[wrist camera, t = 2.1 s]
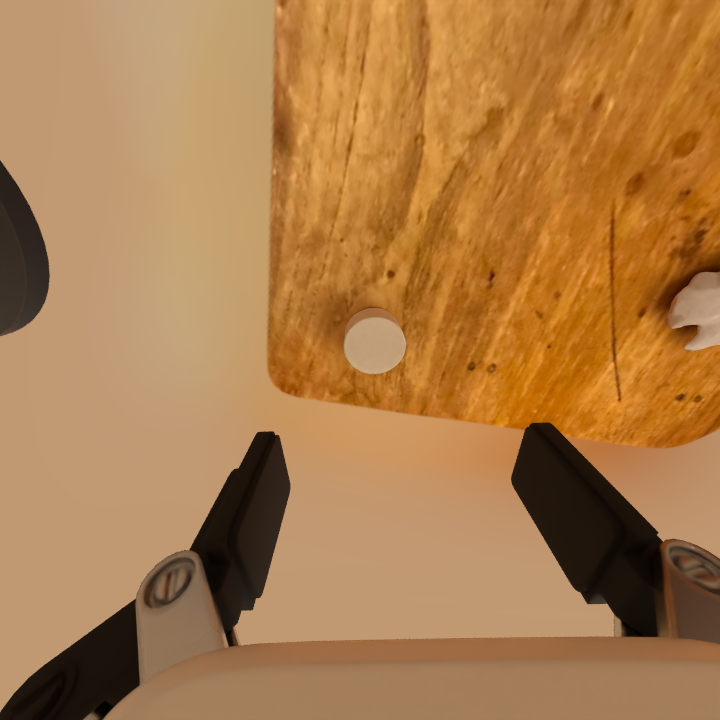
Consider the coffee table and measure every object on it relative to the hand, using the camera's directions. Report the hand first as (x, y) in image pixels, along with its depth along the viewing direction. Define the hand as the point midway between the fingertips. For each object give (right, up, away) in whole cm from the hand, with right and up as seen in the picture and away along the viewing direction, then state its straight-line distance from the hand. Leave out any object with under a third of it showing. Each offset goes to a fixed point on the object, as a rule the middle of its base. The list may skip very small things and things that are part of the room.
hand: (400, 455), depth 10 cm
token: (-1, +6, +11) cm, 12 cm away
